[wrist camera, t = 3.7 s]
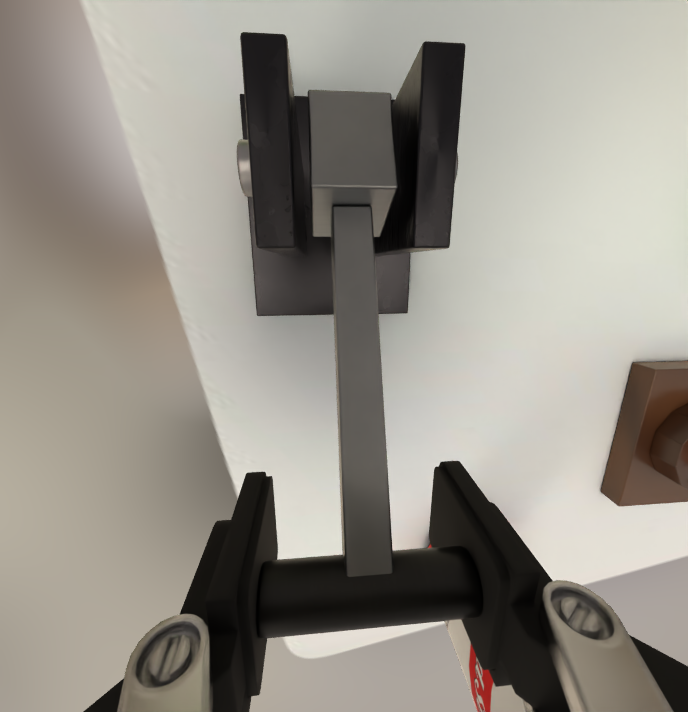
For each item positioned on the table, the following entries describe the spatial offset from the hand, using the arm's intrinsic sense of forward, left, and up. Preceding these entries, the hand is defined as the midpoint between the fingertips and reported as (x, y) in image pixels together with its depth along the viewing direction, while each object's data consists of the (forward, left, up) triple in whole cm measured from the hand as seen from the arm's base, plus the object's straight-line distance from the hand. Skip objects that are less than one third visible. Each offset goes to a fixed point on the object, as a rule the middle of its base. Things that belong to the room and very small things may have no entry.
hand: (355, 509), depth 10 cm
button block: (+5, +26, -12) cm, 29 cm away
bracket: (-10, 0, -12) cm, 16 cm away
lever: (-5, 0, -1) cm, 5 cm away
